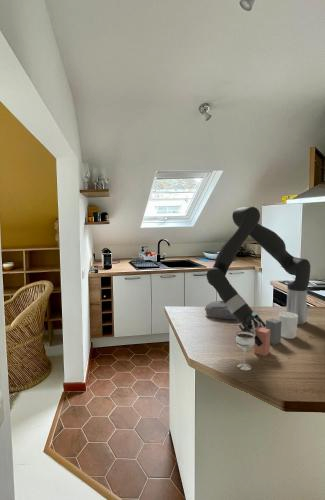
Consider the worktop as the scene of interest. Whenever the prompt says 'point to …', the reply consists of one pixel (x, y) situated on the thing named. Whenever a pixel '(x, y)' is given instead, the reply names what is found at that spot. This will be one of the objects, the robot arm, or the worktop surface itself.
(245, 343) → the wineglass
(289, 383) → the worktop surface
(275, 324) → the charcoal pillar
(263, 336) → the red pillar
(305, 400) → the worktop surface
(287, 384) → the worktop surface
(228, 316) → the grey rounded bag
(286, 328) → the white cup
